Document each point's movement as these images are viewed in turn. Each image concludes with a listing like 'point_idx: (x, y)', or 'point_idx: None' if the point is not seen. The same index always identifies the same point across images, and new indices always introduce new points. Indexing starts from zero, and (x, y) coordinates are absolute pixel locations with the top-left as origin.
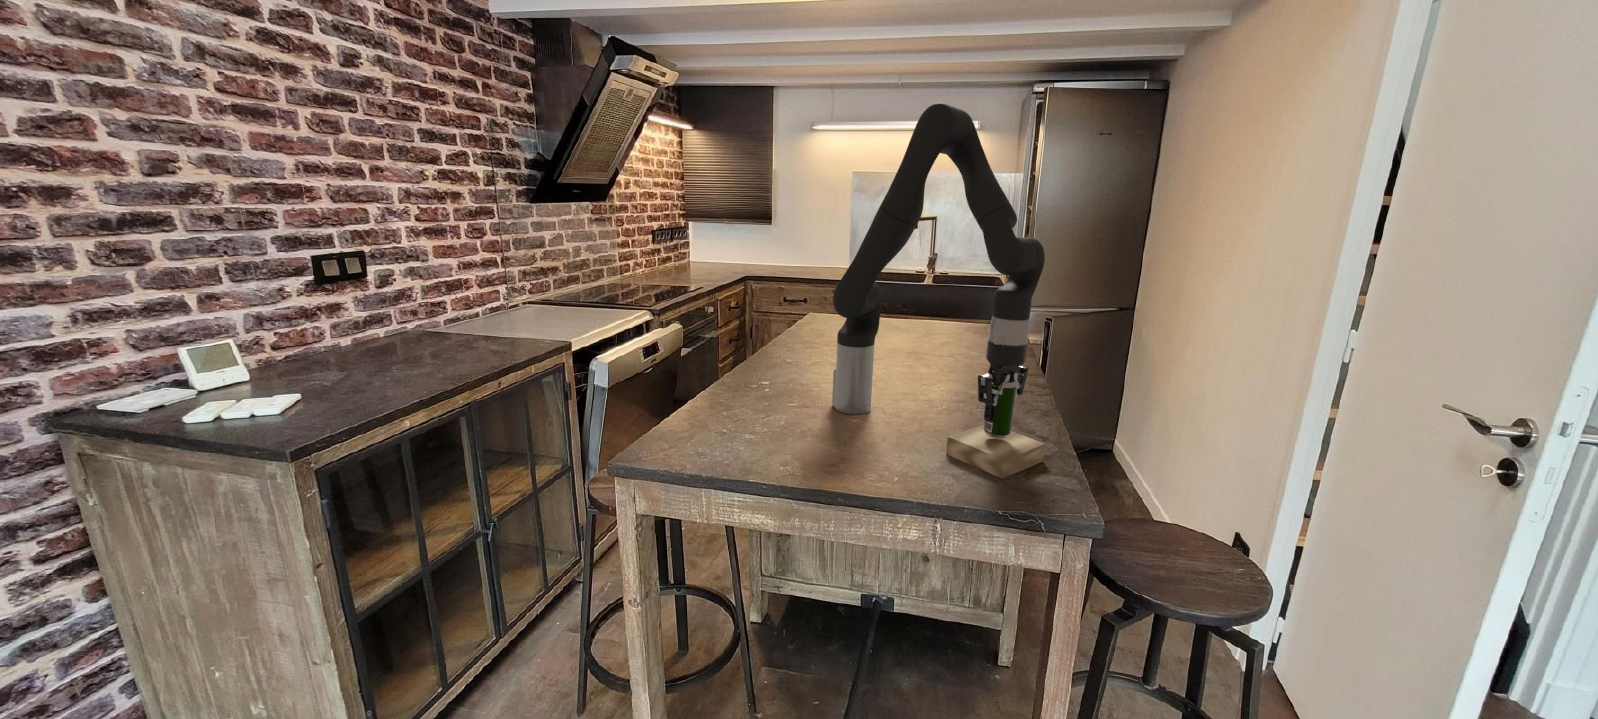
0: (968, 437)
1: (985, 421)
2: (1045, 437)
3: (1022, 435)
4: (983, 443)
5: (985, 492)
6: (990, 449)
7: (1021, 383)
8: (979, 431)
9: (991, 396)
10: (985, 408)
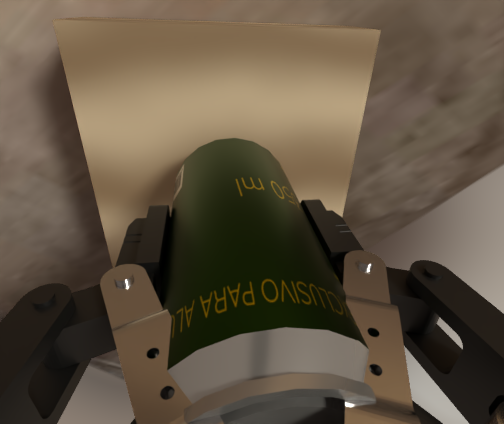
0: (146, 92)
1: (181, 182)
2: (495, 142)
3: (344, 197)
4: (156, 168)
5: (23, 264)
6: (136, 214)
7: (442, 388)
8: (248, 76)
9: (63, 398)
10: (117, 261)
